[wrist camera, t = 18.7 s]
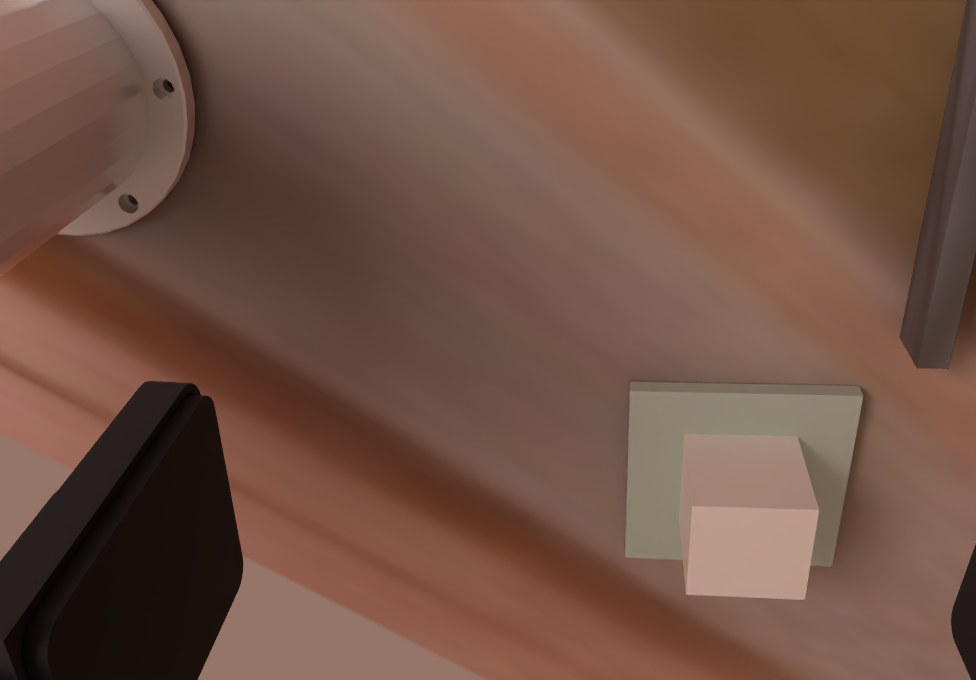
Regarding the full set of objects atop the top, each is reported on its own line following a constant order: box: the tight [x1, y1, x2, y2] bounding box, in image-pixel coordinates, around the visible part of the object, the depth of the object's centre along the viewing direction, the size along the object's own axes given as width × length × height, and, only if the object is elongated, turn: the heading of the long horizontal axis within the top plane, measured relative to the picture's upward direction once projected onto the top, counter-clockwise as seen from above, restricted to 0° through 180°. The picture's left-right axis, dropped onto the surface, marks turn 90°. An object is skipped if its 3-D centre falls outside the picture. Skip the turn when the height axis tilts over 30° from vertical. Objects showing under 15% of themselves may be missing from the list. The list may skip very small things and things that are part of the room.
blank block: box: [679, 434, 819, 600], centre depth 40 cm, size 5×5×5 cm
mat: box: [625, 382, 863, 567], centre depth 43 cm, size 10×10×1 cm
